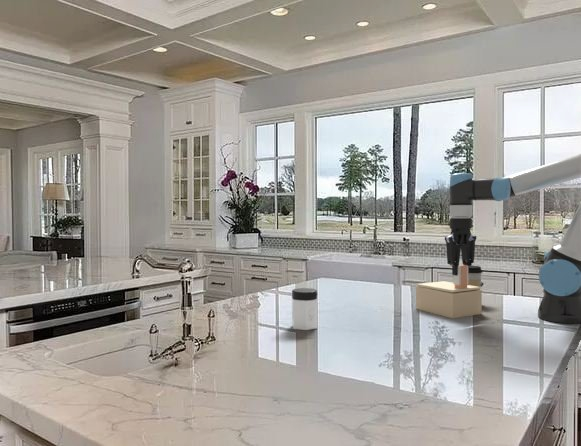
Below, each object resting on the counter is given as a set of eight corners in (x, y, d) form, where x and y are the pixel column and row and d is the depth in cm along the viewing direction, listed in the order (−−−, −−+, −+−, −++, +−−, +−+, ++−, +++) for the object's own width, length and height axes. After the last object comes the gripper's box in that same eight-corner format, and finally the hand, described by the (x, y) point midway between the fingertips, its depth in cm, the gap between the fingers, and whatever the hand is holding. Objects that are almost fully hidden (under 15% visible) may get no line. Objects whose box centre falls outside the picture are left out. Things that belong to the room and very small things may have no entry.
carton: (481, 315, 174) (481, 290, 173) (452, 319, 167) (452, 293, 167) (443, 306, 190) (443, 283, 189) (416, 310, 183) (416, 286, 183)
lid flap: (480, 289, 174) (480, 264, 173) (452, 292, 167) (452, 266, 167) (443, 283, 189) (443, 260, 189) (416, 286, 183) (416, 262, 182)
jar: (300, 331, 152) (300, 293, 152) (286, 326, 159) (286, 289, 159) (323, 327, 157) (323, 290, 157) (308, 322, 164) (308, 287, 164)
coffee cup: (486, 306, 189) (486, 268, 188) (461, 306, 189) (461, 268, 188) (477, 302, 198) (477, 265, 198) (453, 302, 198) (454, 265, 198)
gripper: (468, 217, 179) (468, 281, 180) (435, 217, 172) (435, 284, 172) (485, 217, 173) (485, 283, 173) (452, 218, 165) (452, 287, 166)
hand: (460, 284), depth 173 cm, fingers closed on lid flap, 3 cm apart
